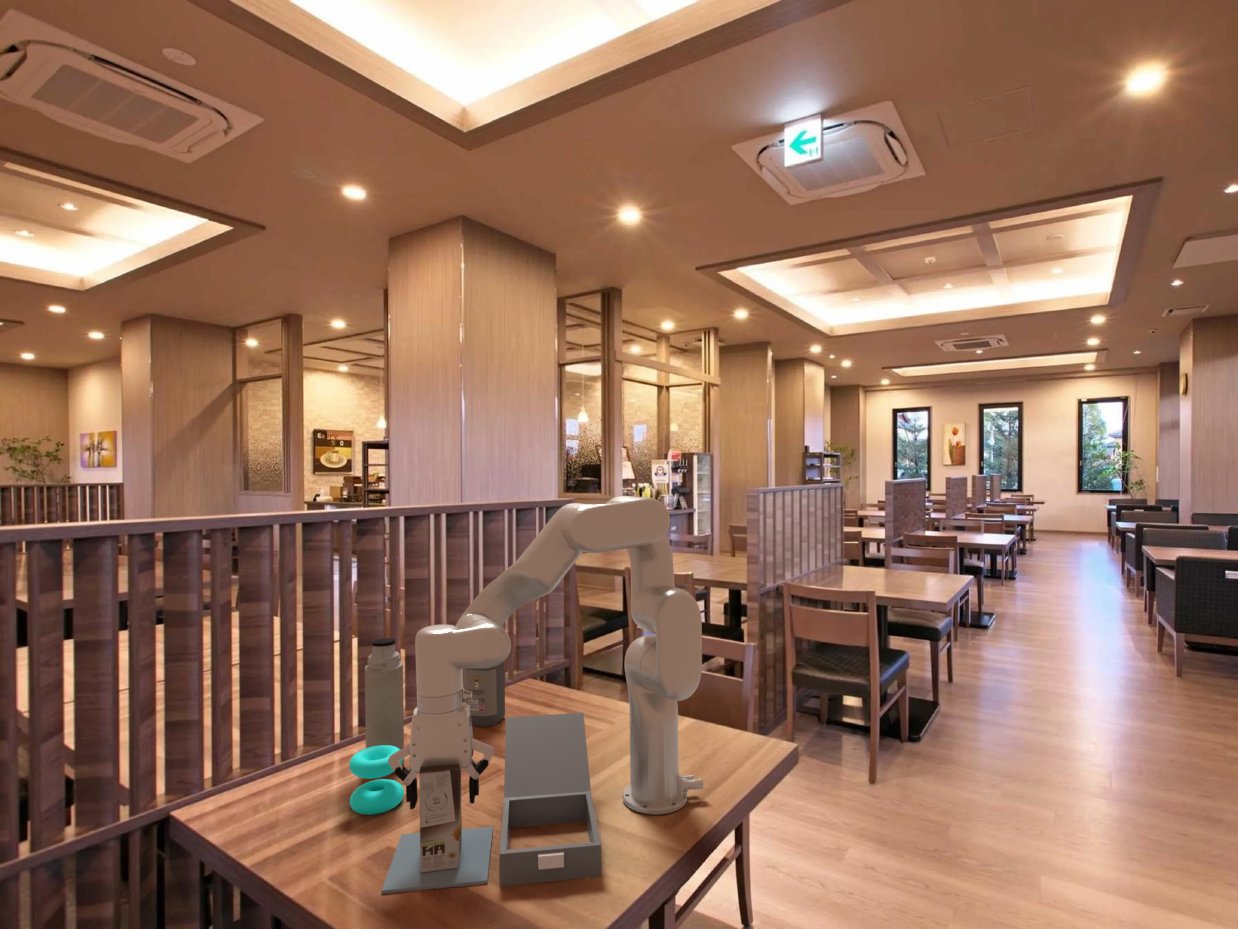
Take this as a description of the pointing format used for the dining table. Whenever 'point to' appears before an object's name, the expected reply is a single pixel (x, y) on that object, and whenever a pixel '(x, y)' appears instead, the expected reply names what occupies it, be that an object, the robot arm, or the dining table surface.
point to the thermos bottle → (384, 696)
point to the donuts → (375, 781)
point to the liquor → (486, 694)
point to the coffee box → (440, 817)
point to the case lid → (546, 755)
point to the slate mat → (469, 872)
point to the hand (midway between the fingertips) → (443, 802)
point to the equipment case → (549, 859)
